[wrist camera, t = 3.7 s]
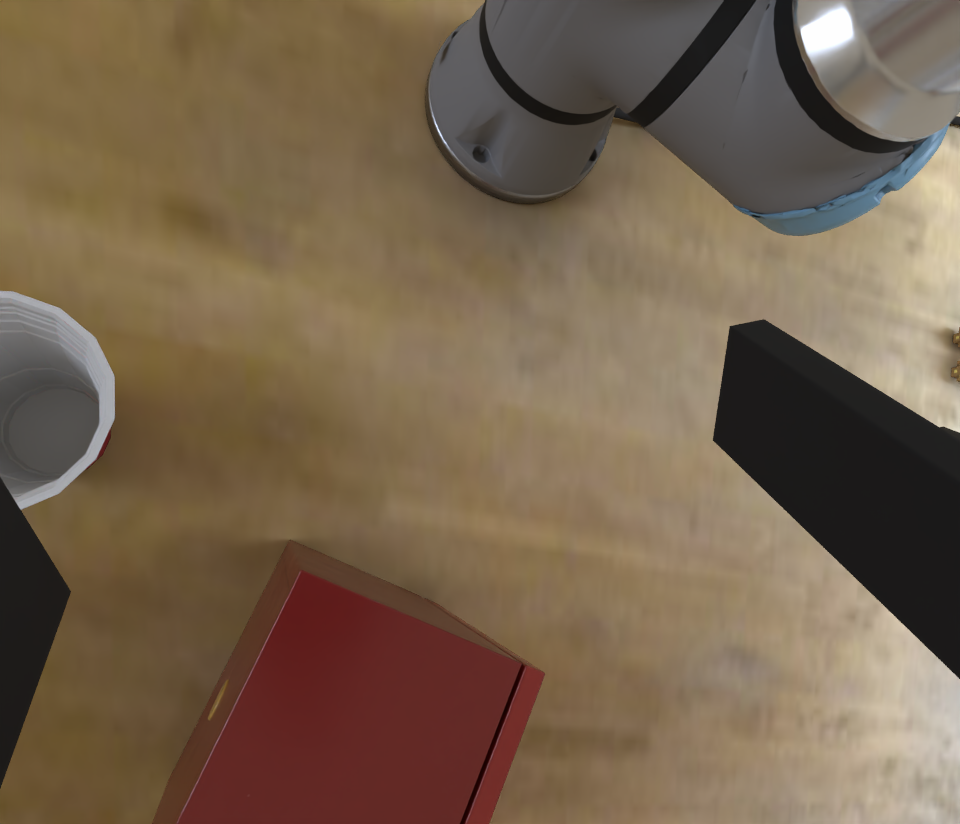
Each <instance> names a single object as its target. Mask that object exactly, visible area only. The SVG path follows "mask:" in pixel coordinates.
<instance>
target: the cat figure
mask: <svg viewBox="0 0 960 824" xmlns="http://www.w3.org/2000/svg"><path fill="white" fill-rule="evenodd" d="M953 343H955V344H958V347H960V327H959V333H957V334H954V335H953ZM951 377H954V378H957V381H958V382H960V361H958V363H957V367H954V368H952V371H951Z"/></svg>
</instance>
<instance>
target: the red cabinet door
mask: <svg viewBox="0 0 960 824" xmlns="http://www.w3.org/2000/svg"><path fill="white" fill-rule="evenodd" d="M424 599H425V600H427V601H428V602H430V603H431V604H433V605H434V606H436V607H437V608H439V609H440V610H442V611H443V612H445V613H446V614H448V615H449V616H451V617H452V618H454V619H455V620H457V621H458V622H460V623H461V624H463V625H464V626H466V627H467V628H469V629H470V630H472V631H473V632H475V633H476V634H478V635H479V636H481V637H482V638H484V639H485V640H487V641H488V642H490V643H491V644H493V645H494V646H496V647H497V648H499V649H500V650H502V651H503V652H505V653H507V654H508V655H510V656H511V657H512V658H514V659H516V660H517V661H519V662H520V663H521V667H520V669H519V672H518V674H517V677H516V680H515V682H514V685H513V687H512V690H511V693H510V695H509V698H508V700H507V703H506V706H505V708H504V711H503V713H502V716H501V718H500V721H499V724H498V726H497V729H496V731H495V734H494V737H493V739H492V742H491V744H490V747H489V750H488V752H487V755H486V757H485V760H484V763H483V765H482V768H481V770H480V773H479V775H478V778H477V781H476V783H475V786H474V788H473V791H472V794H471V796H470V799H469V801H468V804H467V807H466V809H465V812H464V814H463V817H462V820H461V822H460V824H489V822H490V820H491V817H492V814H493V812H494V809H495V806H496V804H497V801H498V798H499V796H500V793H501V790H502V788H503V785H504V782H505V780H506V777H507V774H508V772H509V769H510V766H511V764H512V761H513V758H514V756H515V753H516V750H517V748H518V745H519V742H520V740H521V737H522V734H523V732H524V729H525V726H526V724H527V721H528V718H529V716H530V713H531V710H532V708H533V705H534V702H535V700H536V697H537V694H538V692H539V689H540V686H541V684H542V681H543V678H544V676H545V673H544V672H543V671H541V670H540V669H538V668H536V667H535V666H533V665H532V664H530V663H529V662H527V661H525V660H524V659H522V658H521V657H519V656H518V655H516V654H515V653H513V652H511V651H510V650H508V649H507V648H505V647H504V646H502V645H501V644H499V643H497V642H496V641H494V640H493V639H491V638H490V637H488V636H486V635H485V634H483V633H482V632H480V631H479V630H477V629H476V628H474V627H472V626H471V625H469V624H468V623H466V622H465V621H463V620H461V619H460V618H458V617H457V616H455V615H454V614H452V613H451V612H449V611H447V610H446V609H444V608H443V607H441V606H440V605H438V604H436V603H435V602H432V601H430V600H428V599H426V598H424Z"/></svg>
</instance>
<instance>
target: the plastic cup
mask: <svg viewBox="0 0 960 824" xmlns="http://www.w3.org/2000/svg"><path fill="white" fill-rule="evenodd" d="M114 419H115V376H114V374H113V372H112V370H111V368H110V366H109V364H108V362H107V360H106V358H105V356H104V354H103V352H102V350H101V348H100V346H99V344H98V342H97V340H96V338H95V337H94V336H93V335H92V334H90V333H89V332H88V331H87V330H86V329H84V328H83V327H82V326H81V325H80V324H78V323H77V322H76V321H75V320H74V319H72V318H71V317H70V316H69V315H68V314H66V313H65V312H64V311H63V310H62V309H60V308H58V307H55V306H52V305H50V304H47V303H44V302H41V301H38V300H35V299H33V298H30V297H27V296H24V295H21V294H18V293H16V292H13V291H0V477H1V479H2V480H3V482H4V484H5V485H6V487H7V489H8V490H9V492H10V493H11V495H12V497H13V498H14V500H15V502H16V503H17V505H18V506H19V508H20V510H21V509H24V508H26V507H28V506H31V505H33V504H35V503H38V502H40V501H42V500H45V499H47V498H50V497H52V496H54V495H57V494H59V493H60V492H61V491H62V490H63V489H64V488H65V487H66V486H68V485H69V484H70V483H71V482H72V481H73V480H74V479H75V478H76V477H77V476H78V475H79V474H81V473H82V472H83V471H84V470H86V469H88V468H89V467H90V466H91V465H92V464H93V463H94V462H95V461H96V460H98V459H99V458H100V457H101V456H102V455H103V453H104V451H105V449H106V446H107V444H108V442H109V439H110V437H111V426H112V423H113V421H114Z"/></svg>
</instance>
